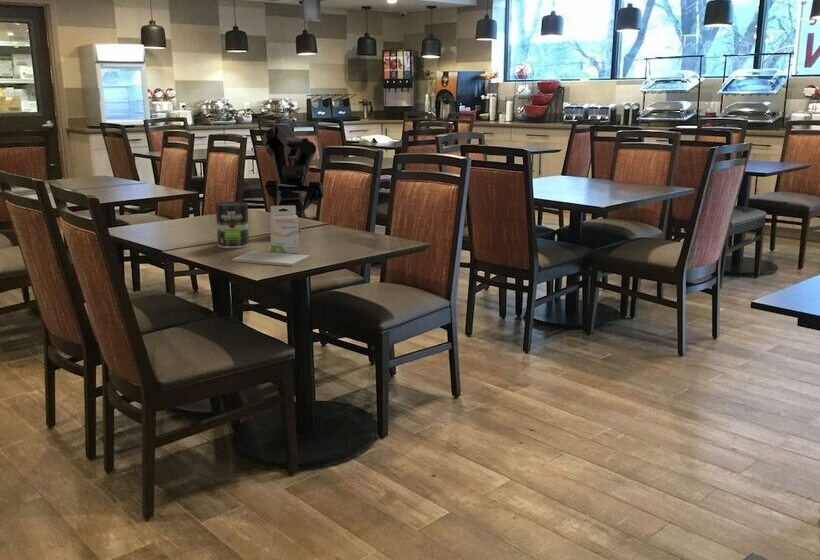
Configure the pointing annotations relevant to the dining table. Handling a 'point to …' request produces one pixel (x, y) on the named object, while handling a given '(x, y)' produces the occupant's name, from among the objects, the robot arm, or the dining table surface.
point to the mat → (271, 258)
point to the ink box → (284, 230)
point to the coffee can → (232, 224)
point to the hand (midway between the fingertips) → (289, 209)
